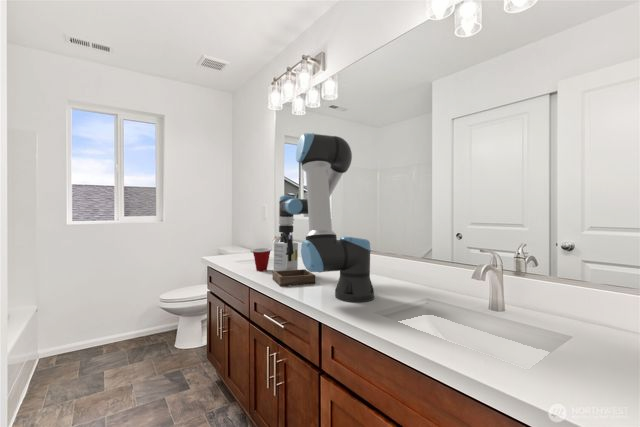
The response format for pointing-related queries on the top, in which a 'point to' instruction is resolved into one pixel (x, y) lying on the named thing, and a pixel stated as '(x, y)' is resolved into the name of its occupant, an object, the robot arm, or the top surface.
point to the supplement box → (284, 256)
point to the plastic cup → (261, 258)
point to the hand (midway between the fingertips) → (285, 265)
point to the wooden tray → (293, 277)
